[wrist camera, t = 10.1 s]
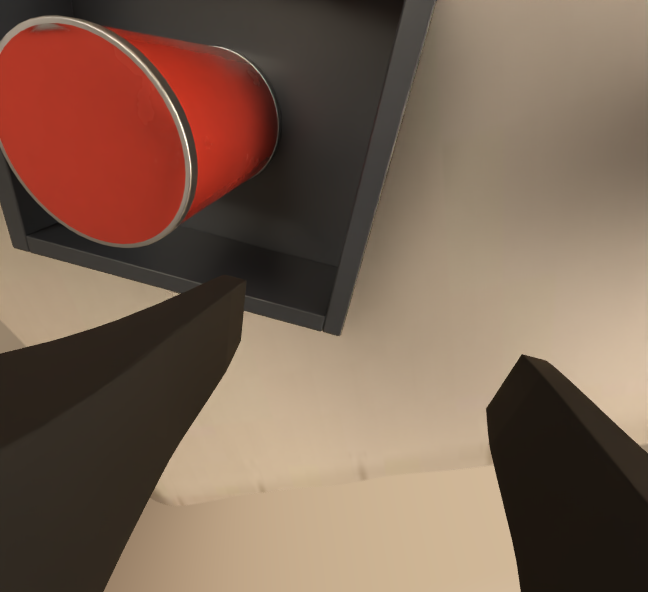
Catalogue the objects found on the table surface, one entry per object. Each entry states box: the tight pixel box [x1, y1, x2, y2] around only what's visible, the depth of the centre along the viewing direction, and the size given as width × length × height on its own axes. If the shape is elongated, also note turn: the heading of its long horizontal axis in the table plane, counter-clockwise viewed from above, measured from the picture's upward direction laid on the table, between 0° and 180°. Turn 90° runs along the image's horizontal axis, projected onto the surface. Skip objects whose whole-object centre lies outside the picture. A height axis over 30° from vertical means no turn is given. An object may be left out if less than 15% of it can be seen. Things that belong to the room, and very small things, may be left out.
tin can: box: [0, 15, 281, 248], centre depth 12 cm, size 5×5×8 cm
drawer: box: [0, 0, 437, 336], centre depth 14 cm, size 15×13×5 cm
